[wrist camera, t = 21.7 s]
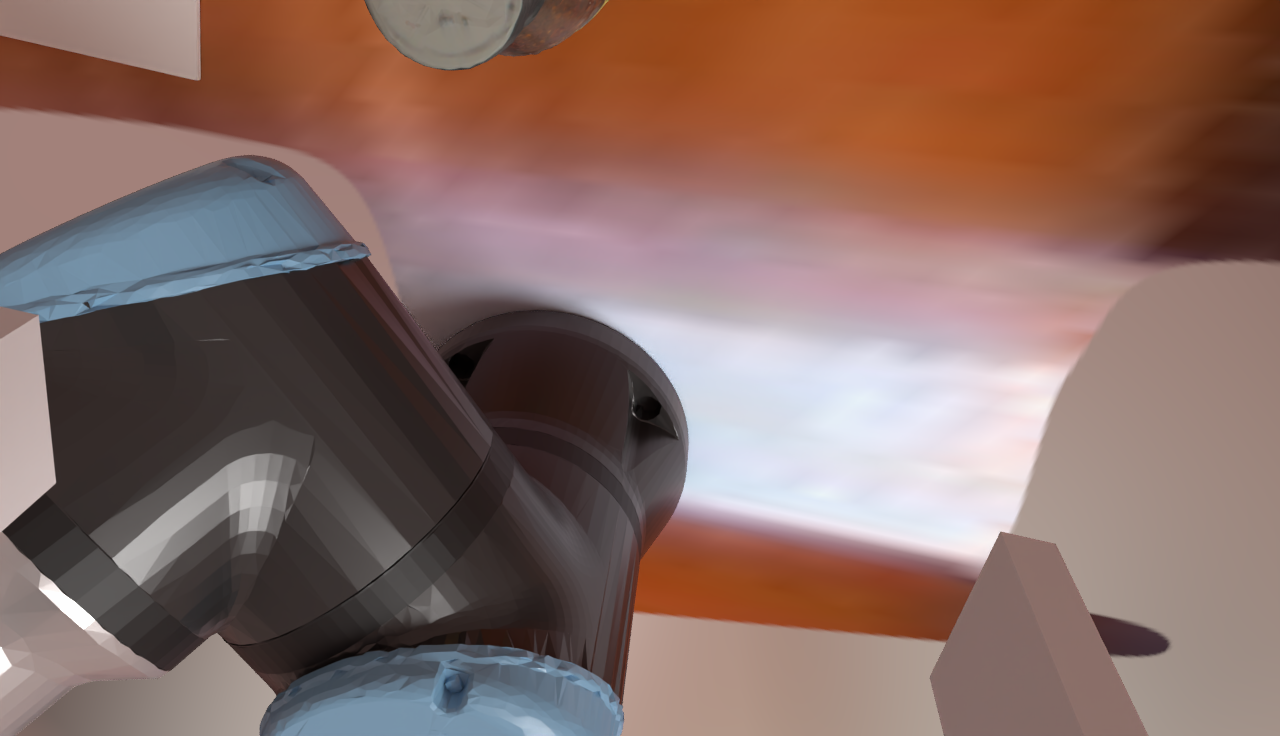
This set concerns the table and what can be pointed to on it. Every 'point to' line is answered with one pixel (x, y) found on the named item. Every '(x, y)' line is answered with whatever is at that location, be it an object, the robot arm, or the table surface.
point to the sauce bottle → (477, 27)
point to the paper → (113, 30)
